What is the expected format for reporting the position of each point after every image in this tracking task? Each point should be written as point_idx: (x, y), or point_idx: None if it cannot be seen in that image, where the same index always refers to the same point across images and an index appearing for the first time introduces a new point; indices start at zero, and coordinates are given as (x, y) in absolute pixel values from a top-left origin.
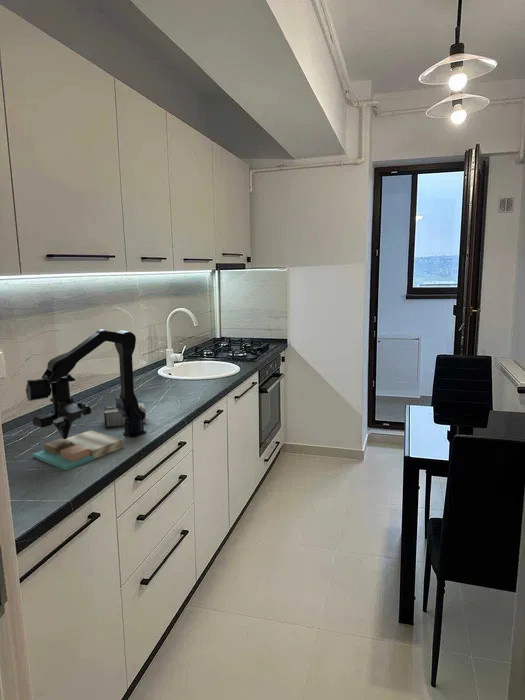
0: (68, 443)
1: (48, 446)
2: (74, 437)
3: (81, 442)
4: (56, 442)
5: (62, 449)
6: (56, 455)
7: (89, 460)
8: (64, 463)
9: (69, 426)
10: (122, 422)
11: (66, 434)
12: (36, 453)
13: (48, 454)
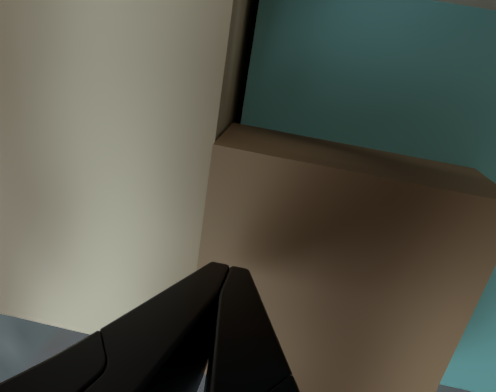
0: (279, 156)
1: (451, 338)
2: (59, 281)
3: (118, 50)
4: (324, 329)
5: (380, 158)
6: (488, 141)
7: None
8: None
9: (59, 384)
10: None
11: (209, 295)
12: (487, 379)
13: None
